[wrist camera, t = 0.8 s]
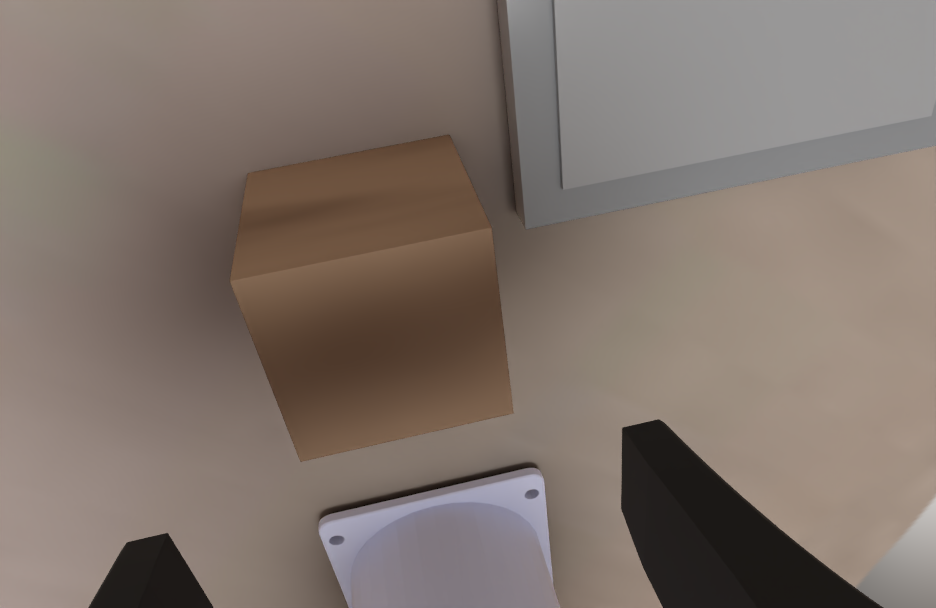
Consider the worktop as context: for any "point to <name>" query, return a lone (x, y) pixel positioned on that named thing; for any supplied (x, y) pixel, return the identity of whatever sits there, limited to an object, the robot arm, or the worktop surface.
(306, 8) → the worktop surface
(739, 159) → the grey framed panel
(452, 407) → the cube
